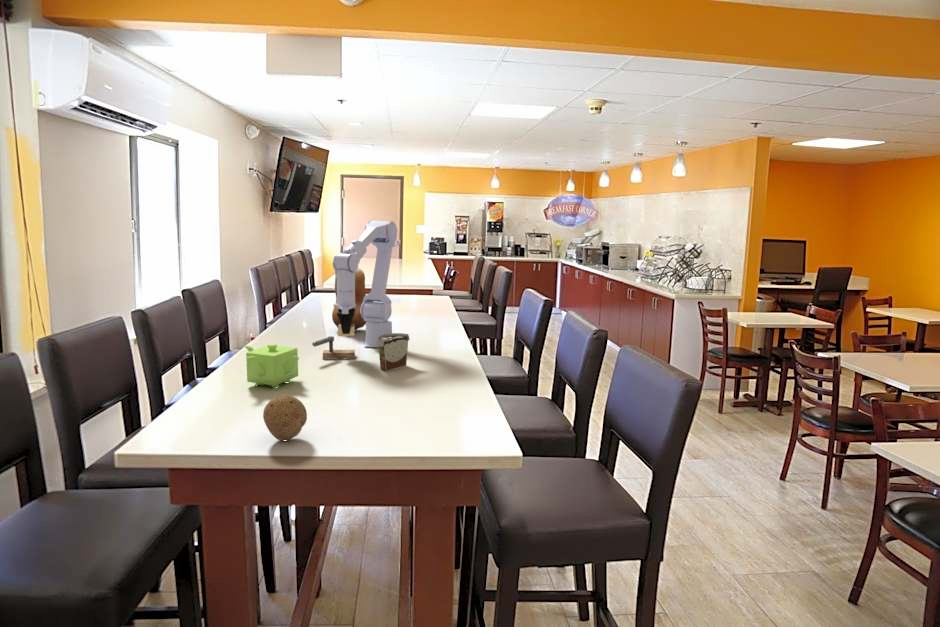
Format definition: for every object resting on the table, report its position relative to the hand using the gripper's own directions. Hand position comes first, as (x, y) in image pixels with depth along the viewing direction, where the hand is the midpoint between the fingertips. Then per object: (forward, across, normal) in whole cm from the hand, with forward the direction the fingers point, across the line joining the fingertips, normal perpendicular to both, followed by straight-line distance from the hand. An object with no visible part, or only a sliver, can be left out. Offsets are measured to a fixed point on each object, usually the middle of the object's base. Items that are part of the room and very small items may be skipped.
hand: (346, 331), depth 207 cm
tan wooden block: (+1, 0, 0) cm, 1 cm away
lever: (+3, +4, -7) cm, 9 cm away
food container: (+9, +13, +14) cm, 21 cm away
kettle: (+9, +29, -20) cm, 36 cm away
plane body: (+8, 0, -2) cm, 9 cm away
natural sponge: (+8, +72, -10) cm, 73 cm away
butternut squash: (+9, -42, -1) cm, 43 cm away
